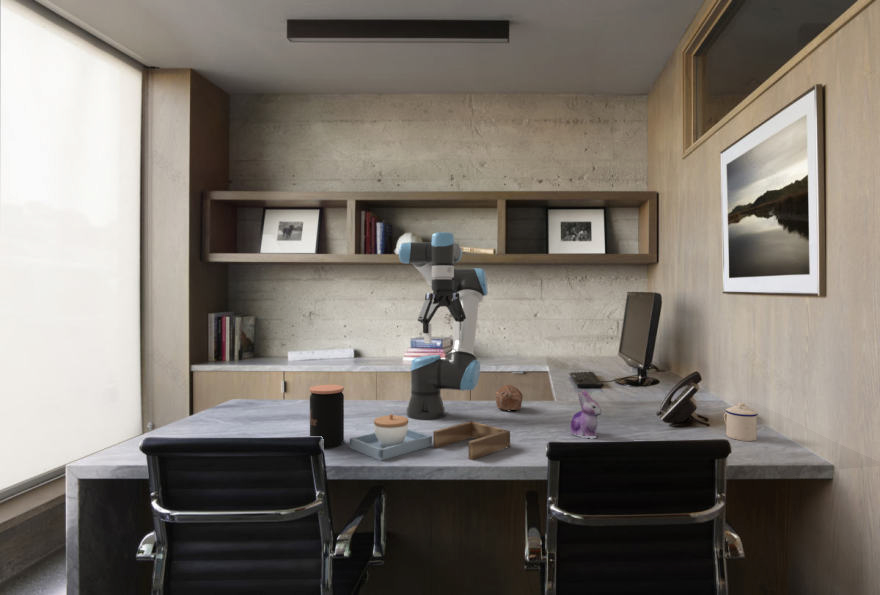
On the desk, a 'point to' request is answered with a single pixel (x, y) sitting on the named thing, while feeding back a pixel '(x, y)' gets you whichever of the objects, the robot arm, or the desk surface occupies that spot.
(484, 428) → the dock
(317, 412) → the coffee jar
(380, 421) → the lidded jar
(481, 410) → the desk surface
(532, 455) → the desk surface
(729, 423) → the teacup with lid
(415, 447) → the tray
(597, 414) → the figurine
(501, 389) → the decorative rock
